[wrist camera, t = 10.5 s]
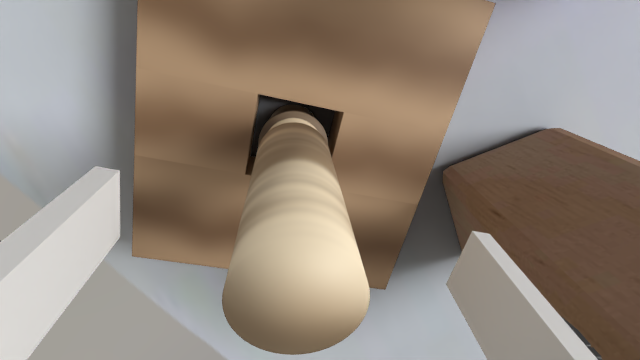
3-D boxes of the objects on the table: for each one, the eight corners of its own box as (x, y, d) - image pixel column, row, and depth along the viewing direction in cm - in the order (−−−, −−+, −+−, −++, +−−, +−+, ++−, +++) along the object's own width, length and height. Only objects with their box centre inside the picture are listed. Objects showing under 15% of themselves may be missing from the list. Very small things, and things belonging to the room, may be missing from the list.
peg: (267, 92, 26) (228, 226, 9) (329, 105, 26) (392, 251, 10) (257, 151, 27) (210, 349, 11) (315, 162, 28) (350, 362, 12)
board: (162, -81, 21) (139, -99, 18) (468, 5, 24) (495, 3, 21) (148, 230, 30) (132, 256, 26) (376, 263, 33) (385, 289, 30)
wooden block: (435, 166, 29) (671, 412, 11) (555, 120, 28) (1026, 305, 10) (460, 256, 33) (662, 543, 15) (565, 218, 32) (914, 475, 14)
